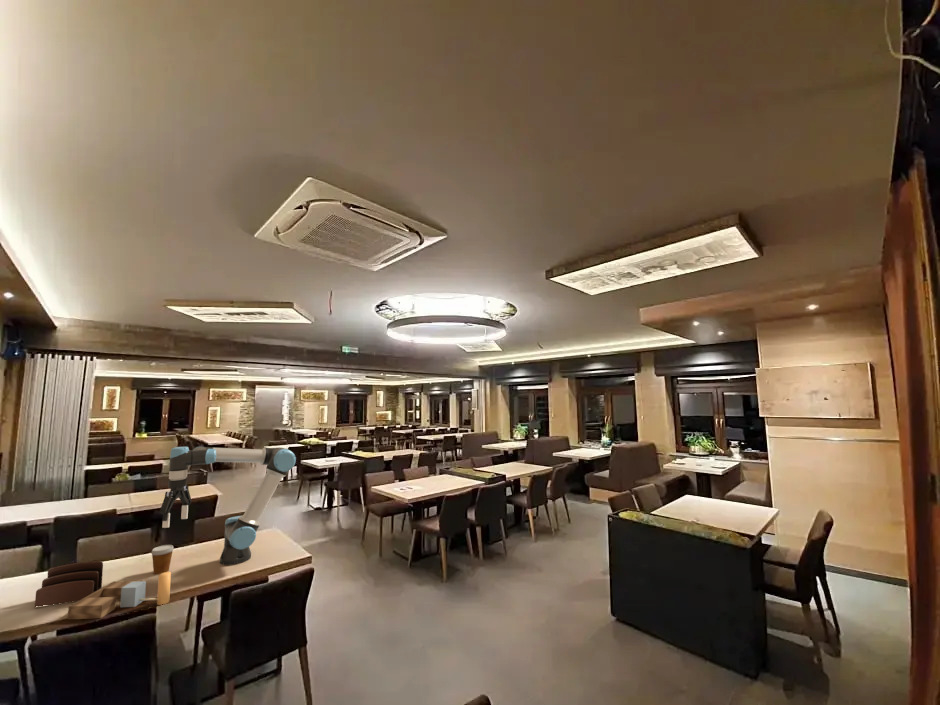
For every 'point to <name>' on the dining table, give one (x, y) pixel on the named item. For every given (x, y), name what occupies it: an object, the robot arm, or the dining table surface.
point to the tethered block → (136, 592)
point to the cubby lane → (98, 602)
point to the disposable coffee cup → (162, 558)
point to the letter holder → (70, 583)
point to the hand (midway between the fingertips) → (175, 523)
